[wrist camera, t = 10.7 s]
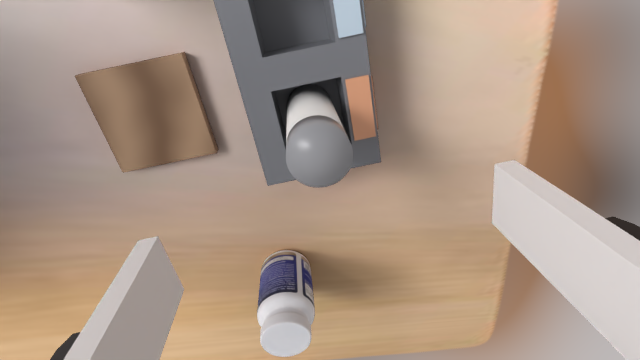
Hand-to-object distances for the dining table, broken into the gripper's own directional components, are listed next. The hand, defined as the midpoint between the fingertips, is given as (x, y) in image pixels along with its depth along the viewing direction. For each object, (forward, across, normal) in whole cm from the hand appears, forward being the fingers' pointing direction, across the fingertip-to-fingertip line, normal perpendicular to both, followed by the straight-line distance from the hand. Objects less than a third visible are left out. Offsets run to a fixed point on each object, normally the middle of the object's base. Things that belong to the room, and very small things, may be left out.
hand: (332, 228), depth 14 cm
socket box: (+21, 0, +4) cm, 21 cm away
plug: (+20, 0, 0) cm, 20 cm away
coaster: (+21, -14, +2) cm, 25 cm away
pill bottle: (+21, -6, -18) cm, 29 cm away
